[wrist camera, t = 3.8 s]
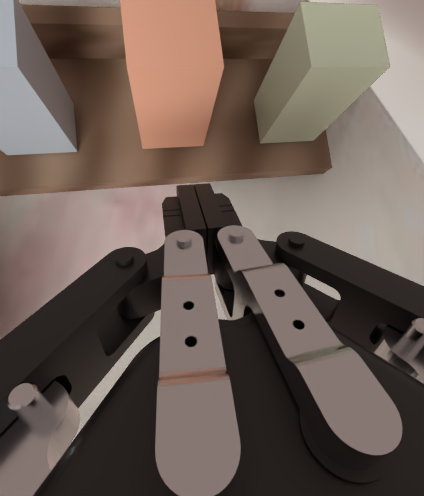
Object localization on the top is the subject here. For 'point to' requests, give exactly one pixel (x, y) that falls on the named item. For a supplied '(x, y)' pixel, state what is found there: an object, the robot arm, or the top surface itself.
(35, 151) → the slate key
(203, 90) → the terracotta key
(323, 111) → the sage key
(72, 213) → the top surface
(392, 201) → the top surface
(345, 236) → the top surface
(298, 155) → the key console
